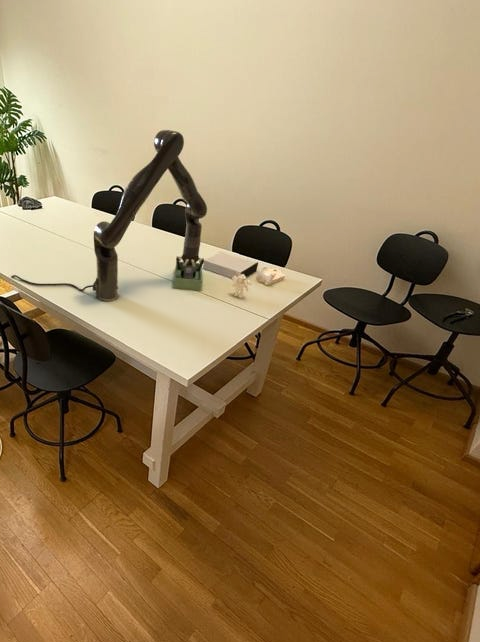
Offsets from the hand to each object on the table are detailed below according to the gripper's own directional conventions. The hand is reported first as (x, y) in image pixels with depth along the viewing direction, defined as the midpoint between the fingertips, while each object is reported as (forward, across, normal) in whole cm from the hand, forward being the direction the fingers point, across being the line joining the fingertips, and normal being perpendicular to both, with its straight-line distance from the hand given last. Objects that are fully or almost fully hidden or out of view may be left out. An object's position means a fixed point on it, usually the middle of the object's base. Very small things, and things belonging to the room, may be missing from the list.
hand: (187, 277), depth 185 cm
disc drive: (+2, -22, -17) cm, 28 cm away
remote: (+1, 0, 0) cm, 1 cm away
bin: (+1, 0, 0) cm, 1 cm away
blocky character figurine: (+2, -24, +13) cm, 27 cm away
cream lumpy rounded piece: (+2, -42, -8) cm, 43 cm away
